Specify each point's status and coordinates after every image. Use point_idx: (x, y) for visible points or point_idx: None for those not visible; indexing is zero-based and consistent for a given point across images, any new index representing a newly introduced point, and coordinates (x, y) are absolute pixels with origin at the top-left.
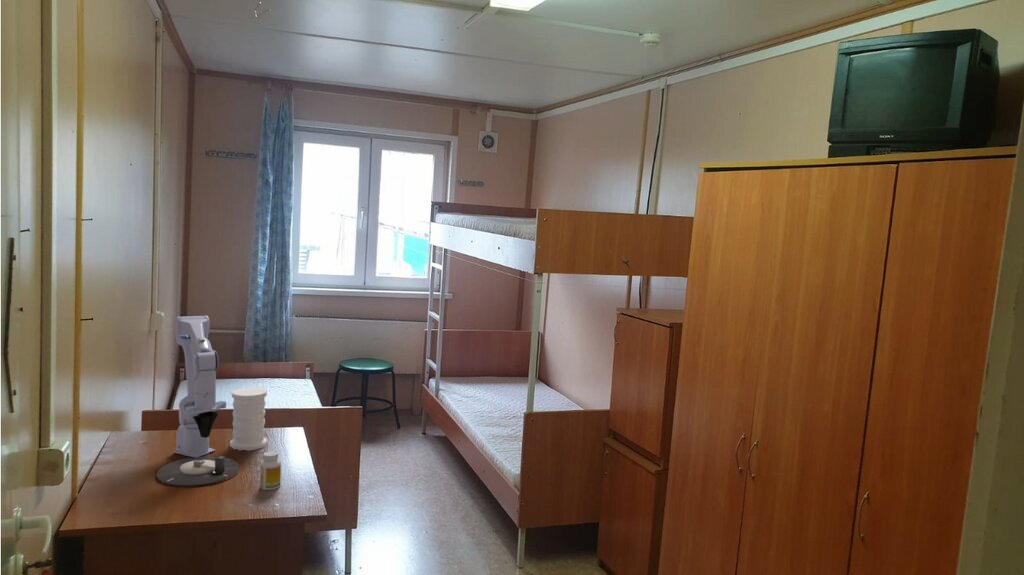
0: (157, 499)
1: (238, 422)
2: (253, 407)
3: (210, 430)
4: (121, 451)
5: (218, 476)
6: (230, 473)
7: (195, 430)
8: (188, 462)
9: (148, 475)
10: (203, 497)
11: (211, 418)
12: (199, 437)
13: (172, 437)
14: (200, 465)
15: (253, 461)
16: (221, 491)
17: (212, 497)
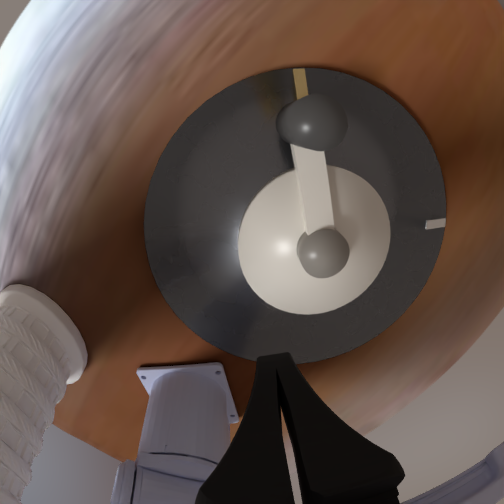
0: (498, 147)
1: (32, 405)
2: None
3: (258, 385)
4: None
5: None
6: (264, 84)
7: (207, 453)
8: (317, 308)
9: (402, 325)
10: (438, 35)
11: (288, 473)
12: (194, 423)
13: None
14: (333, 228)
15: (80, 181)
16: (380, 12)
17: (422, 11)
